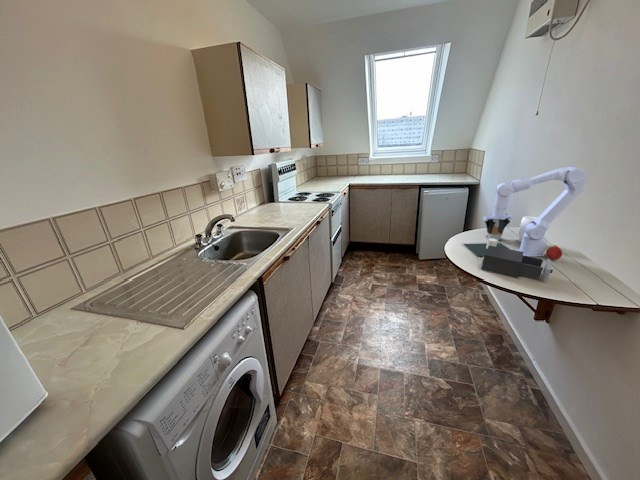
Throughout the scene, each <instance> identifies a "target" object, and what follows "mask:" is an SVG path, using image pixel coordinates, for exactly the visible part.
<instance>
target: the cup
mask: <svg viewBox="0 0 640 480" xmlns="http://www.w3.org/2000/svg"><path fill="white" fill-rule="evenodd" d="M535 218H538V216H530V215H525V216H523V217H522V219H521V221H520V224H519V228H518V233H517V238H516V241H518V242H520V243H521V242H522V239H523V235H524V234H525V230H524V226H525V225H526V224H527V223H529V222H531V221H532V220H533V219H535Z"/></svg>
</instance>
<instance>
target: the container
mask: <svg viewBox="0 0 640 480" xmlns="http://www.w3.org/2000/svg"><path fill="white" fill-rule="evenodd" d="M498 241H499V240H496V239H493V238H487V241H486V243H487V246H486V248H487V249H488V247H489V246H494V247H496V246H497V243H499V242H498Z"/></svg>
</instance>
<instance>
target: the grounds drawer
mask: <svg viewBox="0 0 640 480" xmlns="http://www.w3.org/2000/svg"><path fill="white" fill-rule="evenodd" d="M543 262H544V259H543V258H540V257H536V256H534V257H530V256H524V255H523V258H522V263H521V267H520V270H519V274H518V276H524V277H528V278H532V279H537V280H540V278H541V276H543V277H542V282H544V283H548V280H549V277H550V275H551V274H553V272H554V269H552V260H550V259H549V258H547V259H546V261H545V264H544V267H543V266H542V264H543ZM542 273H543V275H542Z"/></svg>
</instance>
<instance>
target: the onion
mask: <svg viewBox="0 0 640 480" xmlns="http://www.w3.org/2000/svg"><path fill="white" fill-rule="evenodd" d="M545 255H546V257H547V259H550V260H551V262H552V261H557V260H559V259H560V258H562V256H563V251H562V249H561V248H560V247H559V246H558V244H555V245H553V246H551V247H548V248H547V249H546V250H545Z"/></svg>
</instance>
